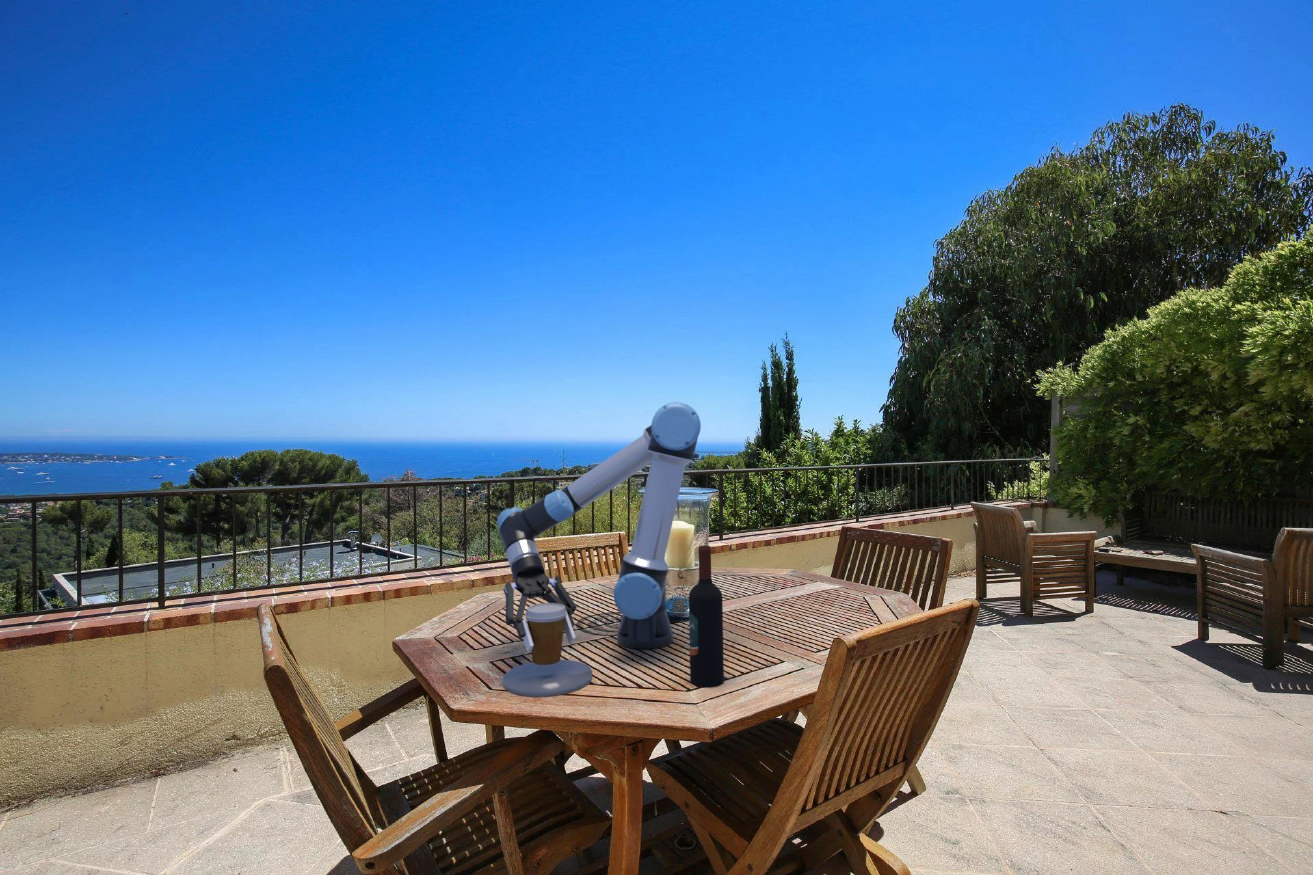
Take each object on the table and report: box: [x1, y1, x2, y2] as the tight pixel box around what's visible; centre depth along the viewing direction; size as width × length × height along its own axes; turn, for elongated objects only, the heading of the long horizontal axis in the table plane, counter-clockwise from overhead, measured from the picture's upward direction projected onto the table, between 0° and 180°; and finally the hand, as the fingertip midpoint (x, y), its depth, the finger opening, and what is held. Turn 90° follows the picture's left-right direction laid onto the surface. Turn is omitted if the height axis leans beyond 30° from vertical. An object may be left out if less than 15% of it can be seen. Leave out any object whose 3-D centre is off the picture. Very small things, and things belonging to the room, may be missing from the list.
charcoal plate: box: [502, 659, 593, 698], centre depth 142 cm, size 20×20×1 cm
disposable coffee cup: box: [524, 602, 567, 665], centre depth 142 cm, size 10×10×12 cm
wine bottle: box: [688, 545, 725, 688], centre depth 140 cm, size 8×8×30 cm
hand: (551, 644), depth 139 cm, fingers closed on disposable coffee cup, 9 cm apart
